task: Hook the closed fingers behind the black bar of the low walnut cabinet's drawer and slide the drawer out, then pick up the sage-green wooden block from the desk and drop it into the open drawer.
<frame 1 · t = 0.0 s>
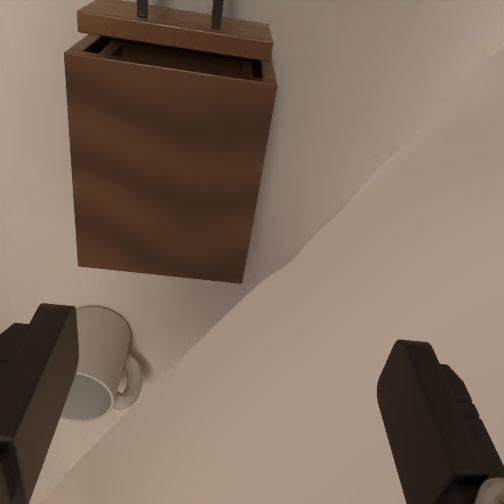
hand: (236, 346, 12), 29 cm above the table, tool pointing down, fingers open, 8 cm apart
cup: (109, 334, 52), on the table
cabinet: (178, 142, 40), on the table
drawer: (177, 86, 33), point 4 cm above the table, slide at 1.0 cm
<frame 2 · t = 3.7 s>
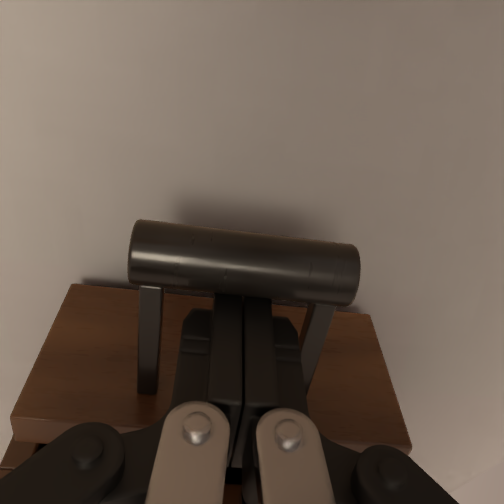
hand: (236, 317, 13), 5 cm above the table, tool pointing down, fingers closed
cabinet: (202, 436, 25), on the table
drawer: (209, 434, 19), point 4 cm above the table, slide at 1.3 cm, touching gripper
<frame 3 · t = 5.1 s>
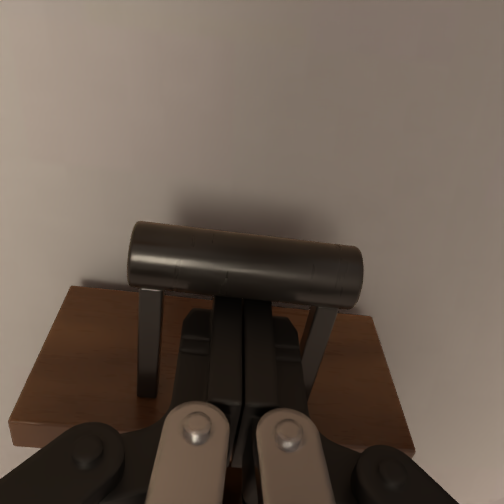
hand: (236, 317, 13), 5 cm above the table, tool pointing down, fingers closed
drawer: (210, 437, 18), point 4 cm above the table, slide at 7.1 cm, touching gripper
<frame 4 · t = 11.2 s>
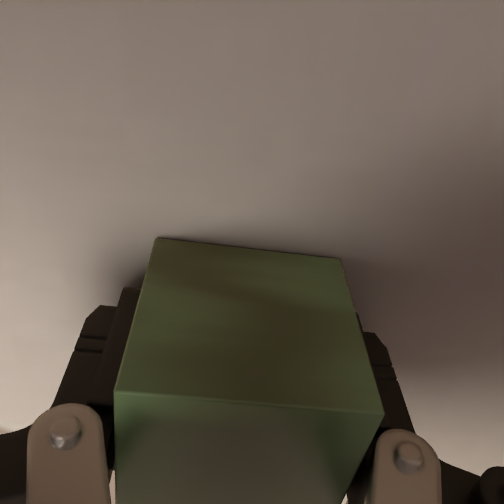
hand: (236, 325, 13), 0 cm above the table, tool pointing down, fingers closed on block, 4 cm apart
block: (237, 317, 13), on the table, touching gripper
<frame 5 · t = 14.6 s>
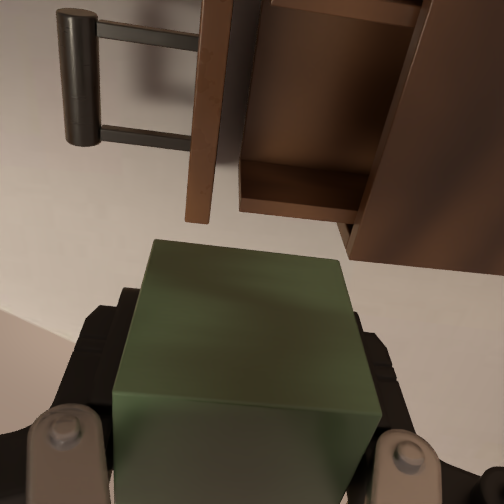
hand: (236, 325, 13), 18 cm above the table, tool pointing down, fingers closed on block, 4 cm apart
cabinet: (482, 105, 28), on the table
block: (236, 317, 13), point 17 cm above the table, touching gripper
drawer: (288, 99, 23), point 4 cm above the table, slide at 7.1 cm
when the fingers open (8 cm above the table, at t = 17.8 s): block stays where it is, resting on cabinet.
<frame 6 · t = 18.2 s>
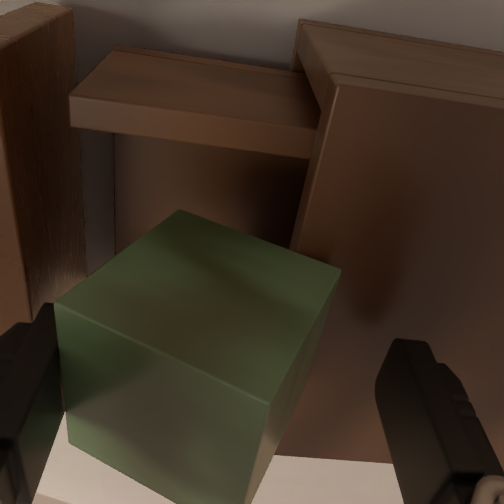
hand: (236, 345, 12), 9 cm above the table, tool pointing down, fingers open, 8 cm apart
cabinet: (450, 212, 20), on the table
block: (244, 304, 13), point 7 cm above the table, tilted 25°, touching cabinet, gripper
drawer: (156, 227, 16), point 4 cm above the table, slide at 7.1 cm
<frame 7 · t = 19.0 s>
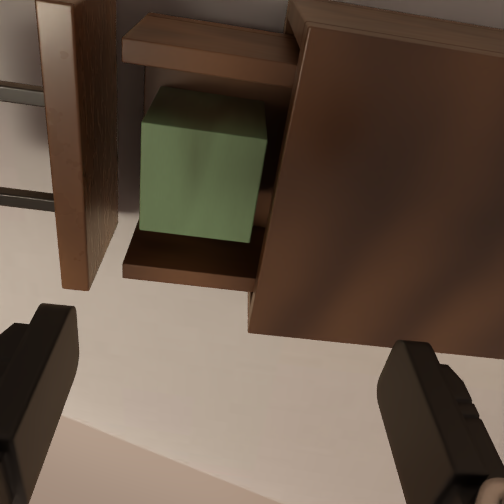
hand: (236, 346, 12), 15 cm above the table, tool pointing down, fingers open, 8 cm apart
cabinet: (414, 155, 25), on the table
block: (257, 170, 21), point 4 cm above the table, tilted 90°, touching drawer
drawer: (177, 154, 21), point 4 cm above the table, slide at 7.2 cm, touching block
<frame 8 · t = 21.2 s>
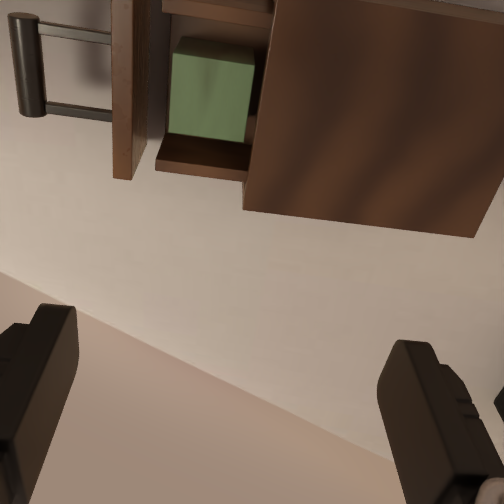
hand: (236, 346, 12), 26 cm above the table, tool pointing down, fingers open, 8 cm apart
cabinet: (363, 92, 34), on the table
block: (248, 94, 30), point 4 cm above the table, tilted 90°, touching drawer
drawer: (193, 83, 30), point 4 cm above the table, slide at 7.2 cm, touching block
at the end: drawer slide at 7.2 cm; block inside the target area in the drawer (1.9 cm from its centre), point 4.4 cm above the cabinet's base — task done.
